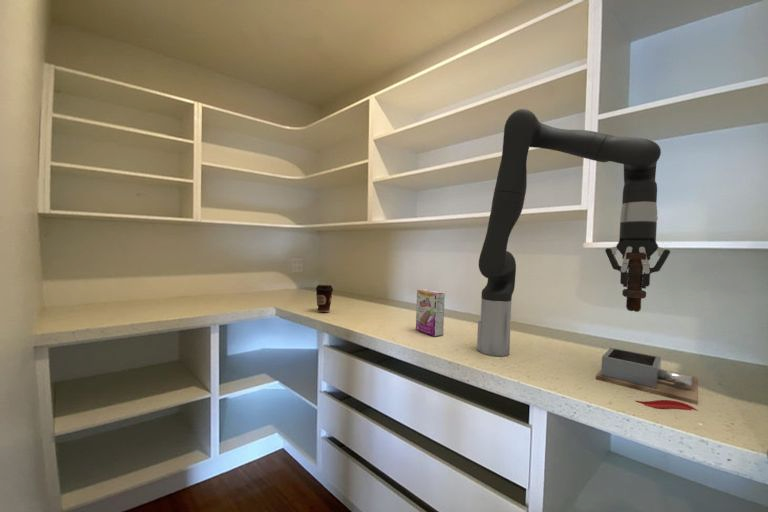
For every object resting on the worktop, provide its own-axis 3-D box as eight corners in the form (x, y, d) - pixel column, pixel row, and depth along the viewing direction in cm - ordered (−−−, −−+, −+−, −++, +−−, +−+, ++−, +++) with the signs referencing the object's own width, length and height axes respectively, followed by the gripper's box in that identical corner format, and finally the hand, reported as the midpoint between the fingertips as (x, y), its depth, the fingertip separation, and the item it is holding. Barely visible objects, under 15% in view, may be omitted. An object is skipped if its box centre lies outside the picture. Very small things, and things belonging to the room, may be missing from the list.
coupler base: (595, 379, 85) (595, 375, 84) (610, 361, 99) (610, 358, 99) (697, 405, 71) (697, 400, 71) (696, 380, 86) (696, 376, 86)
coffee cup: (323, 313, 158) (324, 286, 158) (311, 311, 163) (312, 285, 163) (335, 310, 166) (336, 285, 165) (323, 308, 170) (324, 283, 170)
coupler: (601, 375, 85) (602, 356, 84) (613, 360, 98) (614, 343, 97) (691, 397, 73) (692, 375, 73) (691, 376, 86) (692, 357, 86)
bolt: (644, 310, 86) (648, 253, 85) (649, 313, 81) (653, 253, 81) (617, 308, 88) (620, 252, 88) (621, 310, 84) (624, 252, 83)
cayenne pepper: (633, 406, 71) (633, 397, 71) (630, 398, 75) (630, 389, 75) (708, 421, 65) (708, 411, 65) (700, 411, 69) (700, 402, 69)
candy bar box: (414, 330, 130) (416, 289, 130) (424, 329, 133) (425, 289, 133) (434, 337, 121) (435, 293, 121) (443, 335, 124) (445, 292, 124)
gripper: (602, 220, 86) (599, 285, 87) (673, 218, 77) (669, 291, 77) (608, 223, 92) (605, 284, 92) (675, 221, 82) (671, 289, 82)
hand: (634, 287), depth 85 cm, fingers closed on bolt, 3 cm apart
